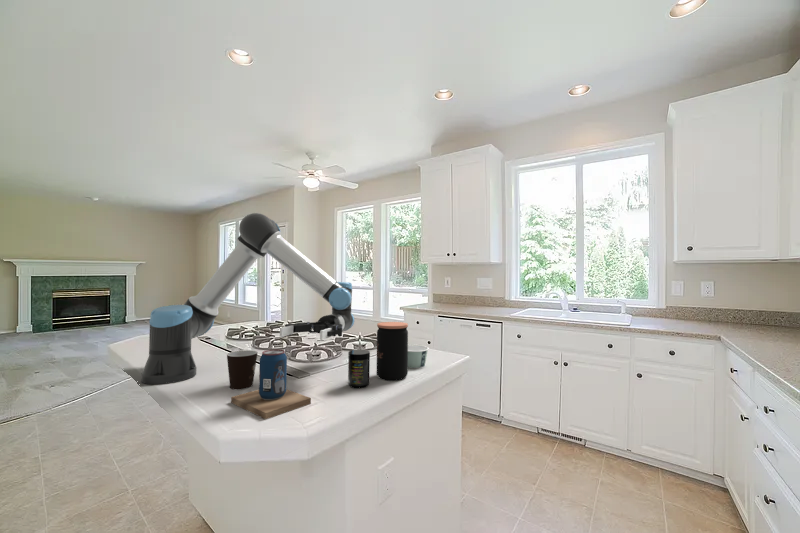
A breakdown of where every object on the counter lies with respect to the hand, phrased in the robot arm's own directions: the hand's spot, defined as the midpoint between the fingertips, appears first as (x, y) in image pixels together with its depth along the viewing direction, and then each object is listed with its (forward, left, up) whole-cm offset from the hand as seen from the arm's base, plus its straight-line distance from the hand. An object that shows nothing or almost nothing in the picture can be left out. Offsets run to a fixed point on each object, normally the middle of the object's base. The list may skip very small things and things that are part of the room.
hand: (300, 333), depth 103 cm
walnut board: (+4, -12, -16) cm, 21 cm away
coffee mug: (-16, -9, -17) cm, 25 cm away
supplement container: (+12, +13, -17) cm, 24 cm away
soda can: (+4, -11, -15) cm, 19 cm away
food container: (+10, +45, -17) cm, 49 cm away
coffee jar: (+14, +27, -17) cm, 35 cm away
